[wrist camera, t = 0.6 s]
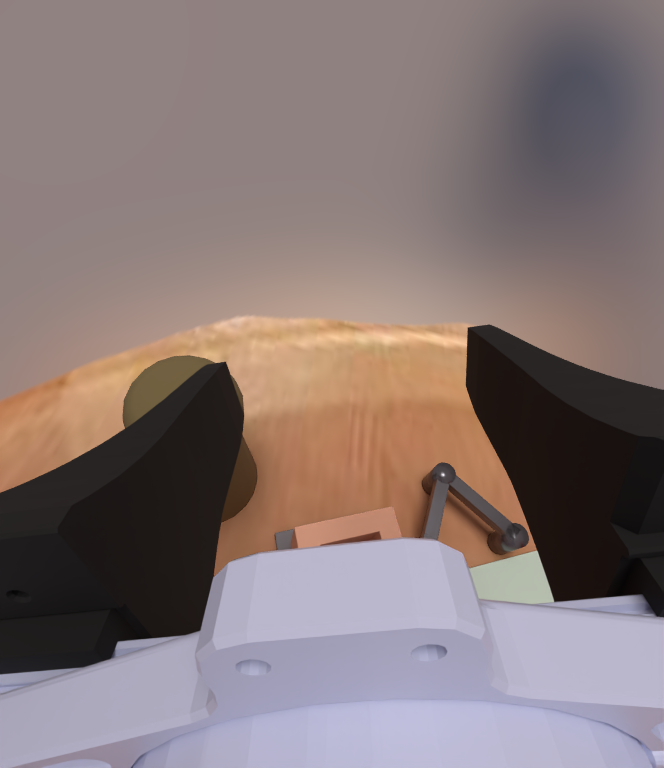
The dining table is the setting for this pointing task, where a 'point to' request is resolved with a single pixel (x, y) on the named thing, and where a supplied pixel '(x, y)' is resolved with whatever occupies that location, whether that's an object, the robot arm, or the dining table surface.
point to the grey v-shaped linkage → (445, 479)
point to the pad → (513, 580)
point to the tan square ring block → (348, 529)
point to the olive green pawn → (163, 382)
